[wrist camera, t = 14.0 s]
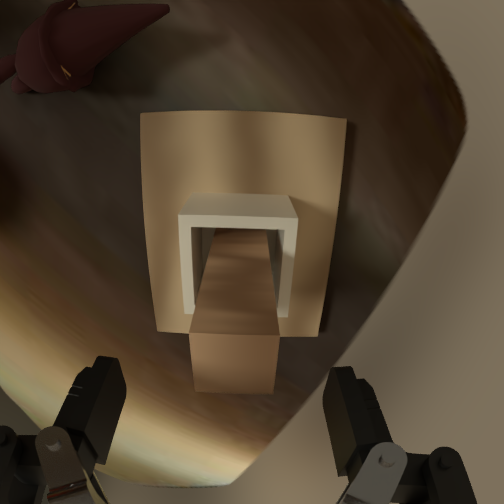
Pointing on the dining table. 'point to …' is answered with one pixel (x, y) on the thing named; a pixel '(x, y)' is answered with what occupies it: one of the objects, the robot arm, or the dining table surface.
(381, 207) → the dining table surface
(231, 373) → the square wooden post
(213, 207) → the white square box
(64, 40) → the icecream
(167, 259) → the wooden board
